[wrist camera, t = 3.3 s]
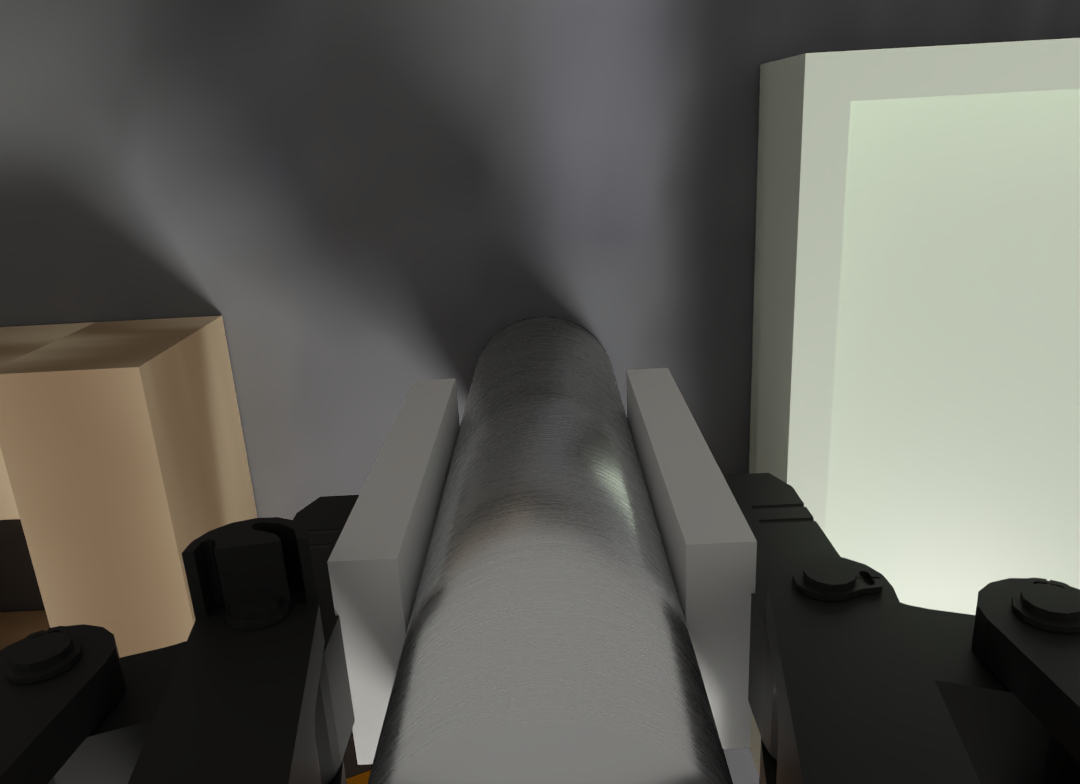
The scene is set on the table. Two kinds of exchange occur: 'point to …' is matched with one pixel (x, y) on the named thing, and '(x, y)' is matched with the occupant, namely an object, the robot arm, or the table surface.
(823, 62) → the tray
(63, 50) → the table surface
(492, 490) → the cylinder
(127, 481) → the bore block
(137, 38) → the table surface
